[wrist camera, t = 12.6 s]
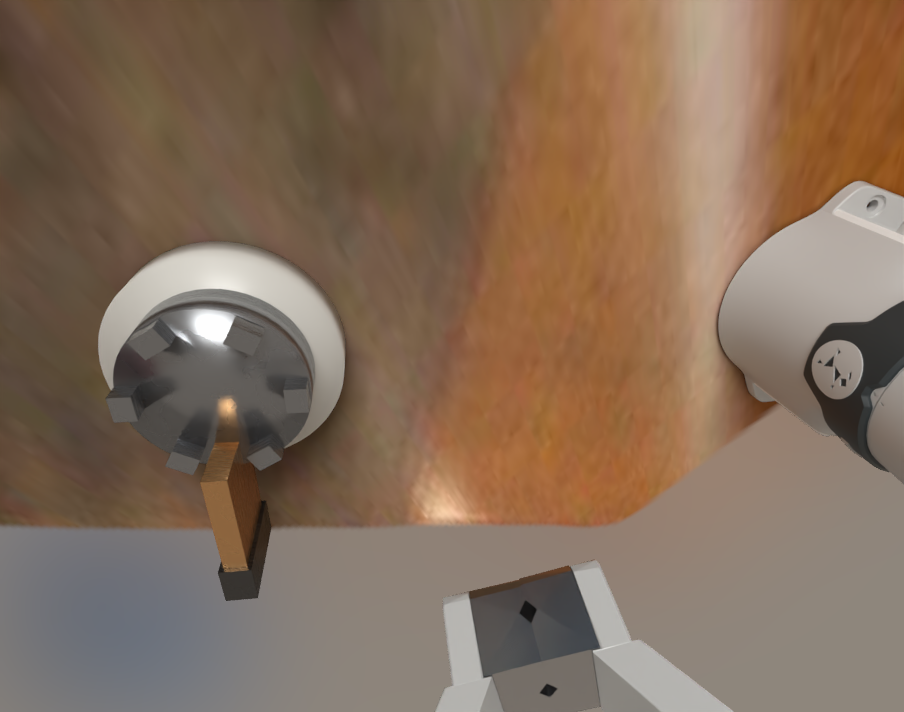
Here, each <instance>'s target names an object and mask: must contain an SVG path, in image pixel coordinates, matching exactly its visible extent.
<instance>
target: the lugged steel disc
mask: <svg viewBox="0 0 904 712" xmlns="http://www.w3.org/2000/svg"><path fill="white" fill-rule="evenodd" d="M314 381H315V363H314V358H313V354H312V351H311V348H310V346H309V344H308V342H307V340H306V338H305V336H304V335H303V334H302V332H301V331H300V329H299V328H298V327H297V326H296V325H295V324H294V322H293V321H292V320H291V319H290V318H288V317H287V316H286V315H285V314H284V313H283V312H281V311H280V310H278V309H277V308H275V307H274V306H272V305H271V304H269V303H267V302H265V301H263V300H261V299H259V298H256V297H254V296H251V295H248V294H245V293H241V292H237V291H232V290H225V289H199V290H192V291H188V292H183V293H180V294H177V295H175V296H172V297H170V298H168V299H166V300H164V301H162V302H161V303H159V304H158V305H156V306H155V307H154V308H152V309H151V310H150V311H149V312H148V313H147V314H146V315H145V316H144V318H143V319H142V320H141V322H140V323H139V324H138V326H137V327H136V328H135V330H134V331H133V332H132V334H131V335H130V336H129V338H128V339H127V340H126V342H125V343H124V344H123V346H122V347H121V349H120V351H119V353H118V355H117V357H116V361H115V365H114V370H113V386H114V387H113V389H112V390H111V392H110V393H109V394H108V396H107V397H106V401H107V404H108V407H109V410H110V412H111V415H112V418H113V421H114V423H115V422H130V423H131V425H132V426H133V427H134V428H135V429H136V430H137V431H138V432H139V433H140V434H141V435H142V436H143V437H145V438H146V439H147V440H148V441H150V442H151V443H153V444H154V445H156V446H157V447H159V448H161V449H162V450H164V451H166V452H168V453H170V454H171V455H170V457H169V459H168V461H167V464H166V466H165V467H169V468H172V469H175V470H178V471H181V472H184V473H188V474H191V475H193V474H194V472H195V470H196V468H197V466H198V464H199V463H204V464H207V465H206V468H205V471H204V473H203V476H202V479H201V482H200V484H201V488H202V491H203V495H204V499H205V503H206V506H207V510H208V514H209V517H210V521H211V525H212V528H213V532H214V536H215V539H216V543H217V547H218V550H219V554H220V558H221V564H220V568H219V571H218V575H219V578H220V582H221V585H222V589H223V593H224V596H225V599H226V601H230V600H241V599H252V598H258V594H259V589H260V584H261V578H262V573H263V567H264V563H265V557H266V552H267V547H268V542H269V536H270V532H271V523H270V518H269V513H268V508H267V503H266V501H261V499H260V494H259V489H258V484H257V479H256V474H255V469H254V466H255V467H257V468H258V469H259V470H260V471H261V470H263V469H265V468H266V467H268V466H270V465H272V464H274V463H276V462H278V461H280V460H282V457H283V452H284V447H285V446H287V445H288V444H289V443H290V442H292V440H293V439H294V438H295V437H296V436H297V435H298V434H299V432H300V431H301V430H302V428H303V427H304V425H305V423H306V420H307V418H308V415H309V412H310V408H311V402H312V395H313V388H314Z"/></svg>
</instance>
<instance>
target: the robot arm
mask: <svg viewBox="0 0 904 712" xmlns="http://www.w3.org/2000/svg"><path fill="white" fill-rule="evenodd" d="M870 201H871V202H870ZM869 202H870V204H869V206H868V207H867V205H868V203H869ZM718 330H719V337H720V342H721V345H722V347H723V350H724V351H725V353H726V355H727V356H728V358H729V359H730V360H731V361H732V362H733V363H734V364H735V365H736V366H737V367H738V368H739V369H740V370H741V371H742V372H743V373H744V376H745V381H746V385H747V388H748V391H749V393H750V394H751V395H752V396H753V397H755V398H756V399H757V400H759V401H761V402H770V401H776V402H778V403H779V404H780V405H782V406H783V407H784V408H785V409H787V410H788V411H789V412H791V413H792V414H793V415H794V416H796V417H797V418H798V419H800V420H801V421H802V422H804V423H805V424H806V425H808V426H809V427H810V428H811V429H813V430H814V431H815V432H817V433H819V434H821V435H823V436H830V435H835V436H838V437H839V438H840V439H841V441H843V442H844V443H845V445H846V446H847V447H848V448H849V449H850V450H852V451H853V452H854V453H856V454H857V455H858V456H860V457H863V458H864V459H865V460H866V461H868V462H869V463H870V464H872V465H873V466H874V467H876V468H878V469H880V470H883V471H887V472H890V473H892V474H893V475H894V476H895V477H896V478H897V479H898V480H900V481H901V482H902V483H903V484H904V197H902V196H900V195H897V194H895V193H892V192H889V191H887V190H884V189H882V188H879V187H877V186H874V185H872V184H869V183H866V182H863V181H857V182H853V183H851V184H849V185H848V186H846V187H845V188H843V189H842V190H841V191H840V192H838V193H837V194H836V195H835V196H834V197H833V198H832V199H831V200H829V201H828V202H827V203H826V204H825V205H824V206H823V207H822V208H821V209H820V210H818V211H817V212H815V213H813V214H812V215H810V216H808V217H806V218H804V219H802V220H800V221H797V222H795V223H793V224H791V225H789V226H788V227H786V228H784V229H783V230H781V231H779V232H778V233H776V234H775V235H773V236H772V237H771V238H769V239H768V240H767V241H766V242H764V243H763V244H762V245H761V246H760V247H759V248H758V249H757V250H756V251H754V252H753V253H752V255H751V256H750V257H749V258H748V259H747V260H746V261H745V262H744V264H743V265H742V266H741V268H740V269H739V270H738V272H737V273H736V275H735V276H734V278H733V280H732V281H731V283H730V285H729V287H728V289H727V291H726V293H725V296H724V299H723V301H722V305H721V309H720V313H719V322H718ZM443 615H444V623H445V631H446V639H447V647H448V655H449V663H450V671H451V680H452V686H449V687H446V688H444V690H443V693H442V695H441V697H440V700H439V702H438V704H437V707H436V709H435V712H578V711H583V710H587V709H592V708H597V707H601V709H602V710H603V711H604V712H733V711H732V710H731V709H729V708H728V707H727V706H725V705H724V704H723V703H722V702H720V701H719V700H718V699H717V698H715V697H714V696H713V695H711V694H710V693H709V692H708V691H706V690H705V689H704V688H702V687H701V686H700V685H699V684H697V683H696V682H695V681H693V680H692V679H691V678H690V677H688V676H687V675H686V674H684V673H683V672H682V671H680V670H679V669H678V668H677V667H675V666H674V665H673V664H672V663H670V662H669V661H668V660H666V659H665V658H664V657H663V656H661V655H660V654H659V653H657V652H656V651H655V650H654V649H652V648H651V647H650V646H648V645H647V644H646V643H645V642H643V641H642V640H641V639H637V640H632V639H631V637H630V635H629V632H628V630H627V628H626V625H625V623H624V621H623V618H622V616H621V614H620V611H619V609H618V606H617V604H616V602H615V599H614V597H613V595H612V592H611V590H610V588H609V585H608V583H607V580H606V578H605V576H604V574H603V571H602V569H601V566H600V565H599V563H598V562H597V561H596V560H591V561H587V562H583V563H580V564H577V565H573V566H570V567H569V566H565V567H561V568H558V569H554V570H550V571H547V572H543V573H539V574H535V575H532V576H528V577H524V578H520V579H519V580H516V581H512V582H507V583H503V584H499V585H495V586H490V587H486V588H482V589H478V590H473V591H468V592H464V593H461V594H456V595H452V596H448V597H444V598H443Z"/></svg>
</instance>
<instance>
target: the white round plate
mask: <svg viewBox="0 0 904 712" xmlns="http://www.w3.org/2000/svg"><path fill="white" fill-rule="evenodd" d="M199 289H225V290H232V291H237V292H241V293H245V294H248V295H251V296H254V297H256V298H259V299H261V300H263V301H265V302H267V303H269V304H271V305H272V306H274V307H275V308H277V309H278V310H280V311H281V312H283V313H284V314H285V315H286V316H287V317H288V318H290V319H291V320H292V321H293V322H294V324H295V325H296V326H297V327H298V328H299V329H300V331H301V332H302V334H303V335H304V336H305V338H306V340H307V342H308V344H309V346H310V348H311V351H312V354H313V358H314V363H315V381H314V388H313V395H312V402H311V408H310V412H309V415H308V418H307V420H306V423H305V425H304V427H303V428H302V430H301V431H300V432H299V434H298V435H297V436H296V437H295V438H294V439H293V440H292V442H290V443H289V444H288V445H287V446H285V447H284V448H287V447H289V446H291V445H293V444H295V443H297V442H299V441H301V440H302V439H304V438H305V437H307V436H309V435H310V434H311V433H312V432H314V431H315V430H316V429H317V428H318V427H320V425H321V424H322V423H323V422H324V421H325V420H326V419H327V418H328V416H329V415H330V413H331V412H332V410H333V409H334V407H335V405H336V403H337V401H338V399H339V397H340V393H341V390H342V386H343V380H344V370H345V357H346V341H345V334H344V329H343V325H342V322H341V319H340V317H339V314H338V312H337V310H336V308H335V306H334V304H333V302H332V301H331V300H330V298H329V297H328V295H327V294H326V292H325V291H324V290H323V289H322V288H321V286H320V285H319V284H318V283H317V282H316V281H315V280H314V279H313V278H312V277H311V276H309V275H308V274H307V273H306V272H305V271H304V270H302V269H301V268H299V267H298V266H296V265H295V264H293V263H292V262H290V261H289V260H287V259H285V258H283V257H281V256H279V255H277V254H275V253H272V252H270V251H267V250H264V249H262V248H259V247H255V246H251V245H247V244H242V243H235V242H226V241H209V242H199V243H193V244H188V245H184V246H180V247H177V248H175V249H172V250H169V251H167V252H165V253H163V254H161V255H159V256H157V257H156V258H154V259H152V260H151V261H150V262H148V263H147V264H146V265H144V266H143V267H142V268H141V269H140V270H139V271H138V272H137V273H136V274H135V275H134V276H133V277H132V279H131V280H130V281H129V282H128V283H127V284H126V285H125V286H124V287H123V288H122V290H121V291H120V292H119V293H118V294H117V295H116V296H115V297H114V299H113V300H112V302H111V304H110V305H109V307H108V308H107V310H106V313H105V315H104V317H103V320H102V322H101V327H100V331H99V340H98V351H99V359H100V364H101V368H102V371H103V375H104V377H105V379H106V381H107V384H108V386H109V388H110V390H112V389H113V387H114V386H113V370H114V365H115V361H116V357H117V355H118V353H119V351H120V349H121V347H122V346H123V344H124V343H125V342H126V340H127V339H128V338H129V336H130V335H131V334H132V332H133V331H134V330H135V328H136V327H137V326H138V324H139V323H140V322H141V320H142V319H143V318H144V316H145V315H146V314H147V313H148V312H149V311H150V310H151V309H152V308H154V307H155V306H156V305H158V304H159V303H161V302H162V301H164V300H166V299H168V298H170V297H172V296H175V295H177V294H180V293H183V292H188V291H192V290H199Z"/></svg>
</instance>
